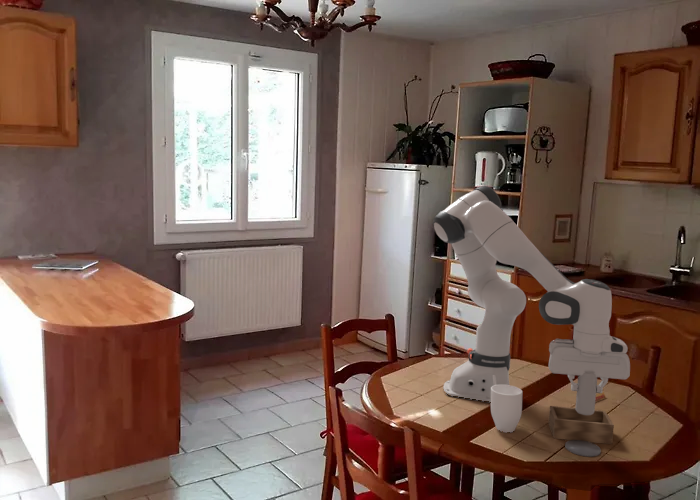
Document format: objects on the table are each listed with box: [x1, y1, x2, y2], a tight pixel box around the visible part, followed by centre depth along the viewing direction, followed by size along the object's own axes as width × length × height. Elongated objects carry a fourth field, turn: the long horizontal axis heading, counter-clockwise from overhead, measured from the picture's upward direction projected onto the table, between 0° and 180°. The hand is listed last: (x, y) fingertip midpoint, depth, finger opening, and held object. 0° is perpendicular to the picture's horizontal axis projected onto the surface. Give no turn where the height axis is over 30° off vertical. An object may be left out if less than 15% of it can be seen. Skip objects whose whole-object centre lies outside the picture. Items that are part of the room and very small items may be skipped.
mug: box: [490, 384, 523, 433], centre depth 182 cm, size 12×9×12 cm
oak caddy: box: [548, 405, 615, 445], centre depth 180 cm, size 16×11×6 cm
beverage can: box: [574, 371, 598, 415], centre depth 168 cm, size 5×5×12 cm
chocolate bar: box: [595, 391, 607, 403], centre depth 207 cm, size 3×12×2 cm, turn 130°
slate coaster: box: [564, 440, 602, 458], centre depth 170 cm, size 9×9×1 cm
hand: (586, 391), depth 168 cm, fingers closed on beverage can, 5 cm apart
